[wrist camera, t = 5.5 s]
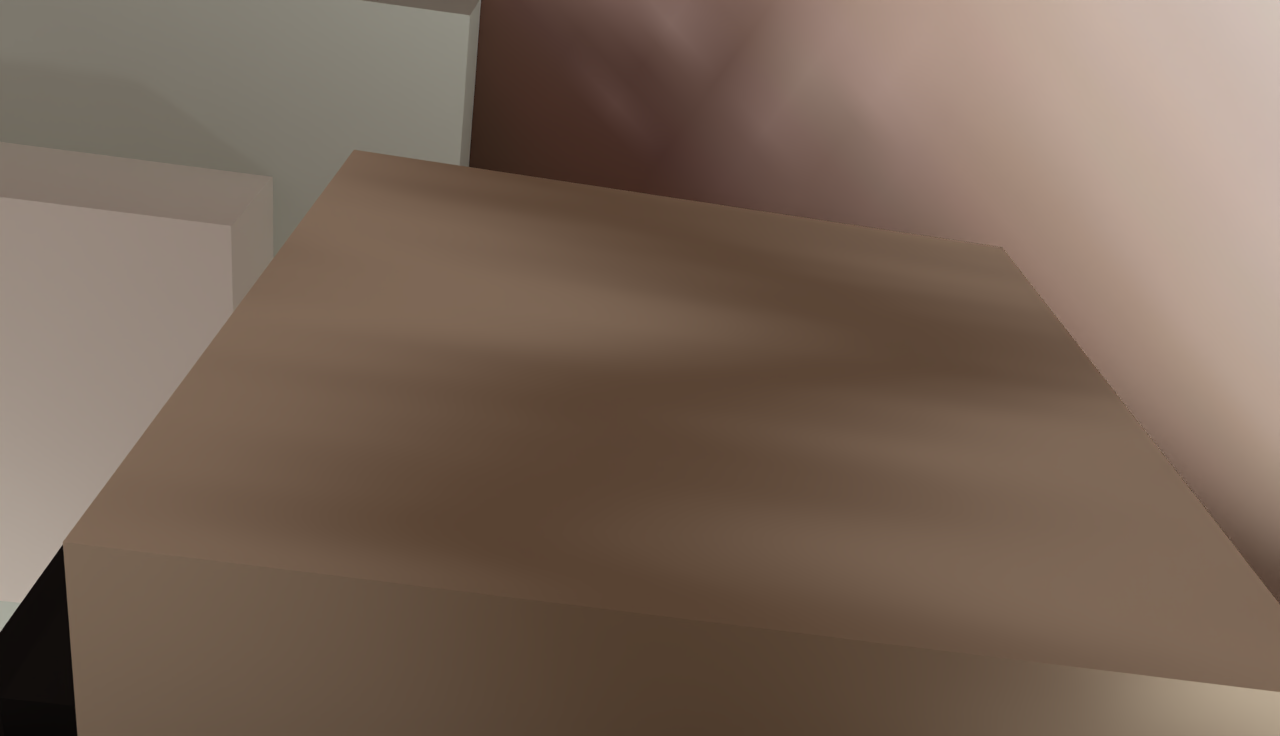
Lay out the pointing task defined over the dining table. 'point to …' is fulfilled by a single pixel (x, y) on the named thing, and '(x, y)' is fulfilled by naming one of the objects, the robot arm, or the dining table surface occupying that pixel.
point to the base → (244, 83)
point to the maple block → (649, 493)
